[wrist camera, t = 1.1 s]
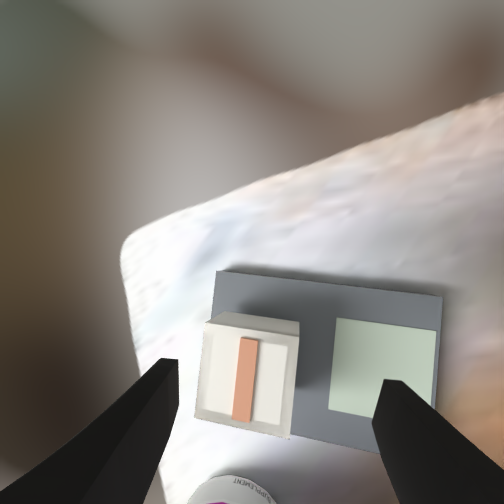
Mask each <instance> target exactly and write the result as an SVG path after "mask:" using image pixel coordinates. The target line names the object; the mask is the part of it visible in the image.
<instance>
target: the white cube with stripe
mask: <svg viewBox="0 0 504 504" xmlns="http://www.w3.org/2000/svg"><path fill="white" fill-rule="evenodd" d="M298 347H299V322H296V321H289V320H283V319H276V318H269V317H262V316H255V315H248V314H241V313H234V312H227V311H224V312H222V313H221V314H219V315H217V316H216V317H214V318H212V319H210V320H209V321H207V322H205V327H204V336H203V345H202V354H201V362H200V371H199V380H198V389H197V398H196V406H195V415H194V418H197V419H201V420H206V421H210V422H214V423H219V424H223V425H228V426H232V427H237V428H241V429H245V430H250V431H254V432H259V433H263V434H268V435H272V436H276V437H281V438H285V439H290V428H291V418H292V408H293V398H294V388H295V377H296V367H297V357H298Z"/></svg>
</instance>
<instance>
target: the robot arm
mask: <svg viewBox="0 0 504 504" xmlns="http://www.w3.org/2000/svg"><path fill="white" fill-rule="evenodd" d="M178 406H179V374H178V359H167V358H161V359H159V360H158V361H157V362H156V363H155V364H154V365H153V366H152V367H151V368H150V369H149V370H148V371H147V372H146V373H145V374H144V375H143V376H142V377H141V378H140V379H139V380H138V381H136V382H135V384H133V385H132V386H131V387H130V388H129V389H128V390H127V391H126V392H125V393H124V394H123V395H122V396H121V397H119V398H118V399H117V400H116V401H115V402H114V403H113V404H112V405H111V406H110V407H109V408H107V409H106V410H105V411H104V412H103V413H102V414H100V415H99V416H98V417H97V418H96V419H95V420H93V421H92V422H91V423H90V424H89V425H88V426H87V427H85V428H84V429H83V430H82V431H80V432H79V433H78V434H77V435H76V436H74V437H73V438H72V439H71V440H69V441H68V442H67V443H66V444H64V445H63V446H62V447H61V448H59V449H58V450H57V451H55V452H54V453H53V454H52V455H50V456H49V457H47V458H46V459H45V460H44V461H42V462H41V463H40V464H38V465H37V466H36V467H34V468H33V469H31V470H30V471H29V472H27V473H26V474H24V475H23V476H22V477H20V478H19V479H17V480H16V481H15V482H13V483H12V484H10V485H9V486H7V487H6V488H5V489H3V490H2V491H0V504H143V502H144V500H145V497H146V495H147V492H148V490H149V487H150V485H151V482H152V480H153V477H154V475H155V472H156V470H157V467H158V465H159V462H160V460H161V457H162V455H163V452H164V450H165V447H166V445H167V442H168V440H169V437H170V434H171V431H172V427H173V424H174V420H175V417H176V413H177V410H178ZM371 424H372V428H373V431H374V435H375V438H376V442H377V445H378V448H379V452H380V455H381V458H382V461H383V463H384V466H385V468H386V471H387V473H388V476H389V478H390V480H391V483H392V485H393V488H394V490H395V493H396V495H397V498H398V500H399V502H400V504H504V470H503V469H502V468H501V467H500V466H498V465H497V464H496V463H495V462H494V461H492V460H491V459H490V458H489V457H488V456H486V455H485V454H484V453H483V452H482V451H481V450H479V449H478V448H477V447H476V446H475V445H474V444H473V443H471V442H470V441H469V440H468V439H467V438H466V437H465V436H463V435H462V434H461V433H460V432H459V431H458V430H457V429H456V428H454V427H453V426H452V425H451V424H450V423H449V422H448V421H447V420H445V419H444V418H443V417H442V416H441V415H440V414H439V413H438V412H437V411H436V410H434V409H433V408H432V407H431V406H430V405H429V404H428V403H427V402H426V401H425V400H423V399H422V398H421V397H420V396H419V395H418V394H417V393H416V392H415V391H413V390H412V389H411V388H410V387H409V386H408V385H407V384H405V383H404V382H403V381H402V380H391V379H384V380H383V384H382V387H381V391H380V394H379V398H378V401H377V405H376V408H375V412H374V415H373V419H372V423H371Z"/></svg>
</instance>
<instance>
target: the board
mask: <svg viewBox="0 0 504 504" xmlns="http://www.w3.org/2000/svg"><path fill="white" fill-rule="evenodd" d="M442 305H443V297H440V296H435V295H428V294H419V293H411V292H402V291H393V290H384V289H376V288H367V287H358V286H350V285H341V284H332V283H324V282H315V281H306V280H297V279H289V278H280V277H271V276H263V275H254V274H245V273H237V272H228V271H216V278H215V287H214V296H213V305H212V314H211V319H212V318H214V317H216V316H217V315H219V314H221V313H222V312H224V311H227V312H234V313H241V314H248V315H255V316H262V317H269V318H276V319H283V320H289V321H296V322H299V347H298V357H297V367H296V377H295V388H294V398H293V408H292V418H291V428H290V434H292V435H297V436H301V437H306V438H310V439H315V440H319V441H324V442H328V443H333V444H337V445H342V446H346V447H351V448H355V449H360V450H364V451H369V452H373V453H378V454H380V452H379V448H378V445H377V442H376V438H375V435H374V431H373V428H372V424H371V423H372V419H373V415H374V412H375V408H376V405H377V401H378V398H379V394H380V391H381V387H382V384H383V380H384V379H391V380H402V381H403V382H404V383H405V384H407V385H408V386H409V387H410V388H411V389H412V390H413V391H415V392H416V393H417V394H418V395H419V396H420V397H421V398H422V399H423V400H425V401H426V402H427V403H428V404H429V405H430V406H431V407H432V408H433V409H434V410H435V398H436V385H437V371H438V358H439V345H440V332H441V318H442Z"/></svg>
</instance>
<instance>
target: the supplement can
mask: <svg viewBox="0 0 504 504" xmlns="http://www.w3.org/2000/svg"><path fill="white" fill-rule="evenodd" d="M187 504H277V503H276V502H275V501H274V500H273V498H272V497H271V496H270V495H269V493H268V492H267V491H266V490H264V489H263V488H261V487H260V486H258V485H257V484H255V483H254V482H252V481H251V480H249V479H245V478H242V477H238V476H234V475H226V476H218V477H213V478H211V479H210V480H208V481H206V482H205V483H203V484H201V485H200V486H199V487H198V488H197V489H196V491H195V492H194V494H193V495H192V496H191V498H190V499H189V501H188V503H187Z"/></svg>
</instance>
